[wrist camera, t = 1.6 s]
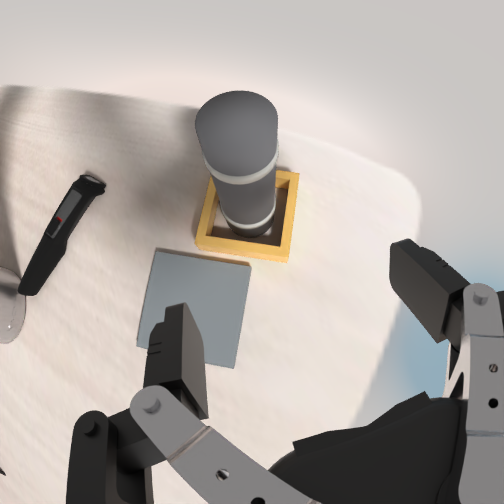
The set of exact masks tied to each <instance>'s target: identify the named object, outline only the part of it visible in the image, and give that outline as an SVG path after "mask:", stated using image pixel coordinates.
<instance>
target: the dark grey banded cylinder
mask: <svg viewBox="0 0 504 504" xmlns="http://www.w3.org/2000/svg"><path fill="white" fill-rule="evenodd" d="M195 129H196V132H197V135H198V138H199V141H200V144H201V147H202V155H203V158H204V161H205V164H206V166H207V168H208V170H209V171H210V174H211V177H212V180H213V183H214V185H215V188H216V191H217V194H218V197H219V200H220V206H221V210H222V212H223V215H224V217H225V218H226V220H227V223H228V225H229V227H230V229H231V230H232V231H233V232H234V233H236V234H237V235H239V236H242V237H246V238H253V237H257V236H260V235H262V234H264V233H265V232H266V231H267V230H268V229H269V228H270V227H271V225H272V223H273V219H274V211H275V206H276V196H275V182H276V162H277V158H278V147H279V145H278V139H277V129H278V115H277V111H276V109H275V107H274V106H273V104H272V103H271V102H270V101H269V100H268V99H266V98H265V97H263V96H262V95H259V94H257V93H254V92H249V91H231V92H226V93H222V94H220V95H217V96H215V97H213V98H212V99H210V100H209V101H208V102H206V103H205V104H204V105H203V106H202V107H201V109H200V110H199V112H198V114H197V116H196V120H195Z"/></svg>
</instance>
